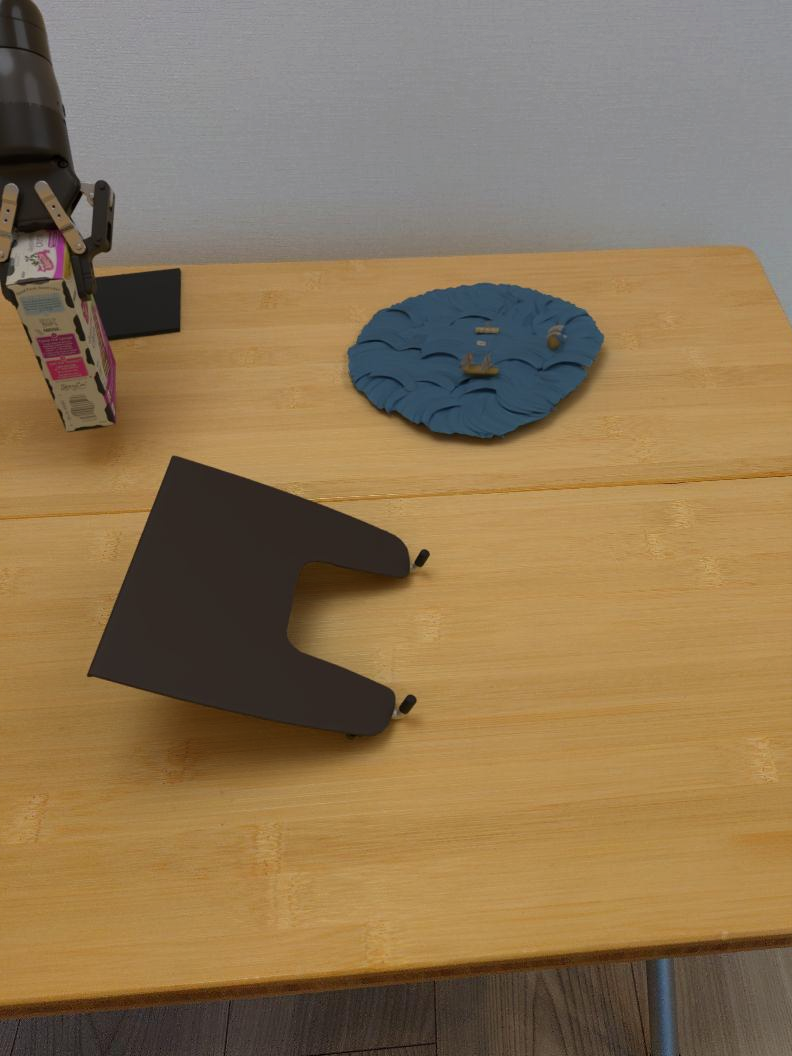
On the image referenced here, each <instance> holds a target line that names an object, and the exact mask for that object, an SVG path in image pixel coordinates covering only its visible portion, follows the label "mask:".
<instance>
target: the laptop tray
mask: <svg viewBox="0 0 792 1056" xmlns="http://www.w3.org/2000/svg"><path fill="white" fill-rule="evenodd" d="M165 470H166V471H165V473H164V475H163V478H162V481H161V484H160V486H159V489H158V491H157V494H156V496H155V498H154V500H153V501H154V502H153V504H152V506H151V509H150V511H149V514H148V516H147V519H146V522H145V524H144V527H143V529H142V532H141V535H140V537H139V540H138V541H137V544H136V547H135V550H134V552H133V555H132V557H131V560H130V562H129V564H128V568H127V570H126V573H125V576H124V578H123V581H122V583H121V586H120V588H119V591H118V593H117V596H116V599H115V602H114V604H113V606H112V608H111V611H110V614H109V617H108V618H107V619H108V620H107V621H106V624H105V627H104V630H103V632H102V634H101V637H100V640H99V643H98V645H97V647H96V650H95V652H94V655H93V658H92V661H91V663H90V665H89V669H88V671H87V674H86V677H87V678H96V679H100V680H104V681H108V682H111V683H115V684H118V685H121V686H126V687H129V688H132V689H136V690H139V691H143V692H148V693H151V694H154V695H159V696H163V697H166V698H170V699H174V700H178V701H182V702H185V703H190V704H193V705H198V706H202V707H205V708H211V709H215V710H220V711H224V712H226V713H227V712H228V713H233V714H236V715H241V716H245V717H248V718H249V717H250V718H255V719H259V720H263V721H267V722H273V723H277V724H283V725H288V726H293V727H300V728H304V729H311V730H317V731H321V732H322V731H323V732H328V733H335V734H343V735H345V737H346V739H347V740H348V741H353V740H355V739H357V738H365V737H374V736H378V735H380V734H381V733H383V732H384V731H385V730H386V729H387V727H388V726H389V725H390V722H391V720H402V719H403V718H405V717H407V715H408V714H410V712H411V711H412V709H413V708H414V706H415V705H416V703H418V699H417V697H416V696H415V695H414V694H411V693H409V694H406V696H405V698H404V699H403V700H402V702H401V703H400V705H399V706H398V708H395V707H396V701H397V699H396V698H397V697H396V693H395V692H394V690H393V689H391V688H390V687H388V686H386V685H384V684H382V683H380V682H378V681H376V680H373V679H371V678H369V677H367V676H364V675H361V674H360V673H358V672H355V671H353V670H350V669H348V668H346V667H344V666H341V665H338V664H335V663H333V662H330V661H327V660H325V659H322V658H319V657H316V656H313V655H311V654H308V653H306V652H303V651H301V650H299V648H296V647H295V646H294V645H293V644H292V642H291V641H290V639H289V636H288V630H289V629H288V628H289V623H290V622H289V621H290V617H291V611H292V607H293V603H294V602H293V601H294V598H295V593H296V589H297V585H298V580H299V576H300V572H301V570H302V569H303V567H304V566H306V565H308V564H312V563H318V564H325V565H328V566H333V567H336V568H341V569H345V570H349V571H354V572H357V573H358V572H359V573H364V574H369V575H376V576H382V577H387V578H393V579H406V578H407V577H408V576H409V575H410V574H415V573H418V572H419V571H420V570H421V569H422V568H423V567H424V566H425V564H426V562H427V561H428V559H429V558H430V556H431V553H430V551H429V550H428V549H426V548H422V549H421V550H419V553H418V555H417V556H416V558H415V560H414V562H413V563H411V558H410V552H409V549H408V546H407V545H406V544H405V542H403V540H402V539H401V538H400V537H398V536H397V535H395V534H393V533H391V532H389V531H387V530H385V529H382V528H380V527H378V526H375V525H373V524H371V523H368V522H366V521H364V520H362V519H359V518H357V517H355V516H352V515H350V514H347V513H344V512H342V511H339V510H337V509H334V508H332V507H329V506H326V505H324V504H321V503H320V502H319V503H318V502H316V501H313V500H311V499H308V498H305V497H302V496H300V495H297V494H294V493H290V492H288V491H285V490H283V489H279V488H277V487H274V486H271V485H268V484H265V483H262V482H259V481H257V480H253V479H251V478H248V477H245V476H241V475H238V474H235V473H232V472H229V471H225V470H222V469H220V468H217V467H213V466H210V465H207V464H204V463H200V462H198V461H195V460H191V459H188V458H185V457H182V456H178V455H172V456H171V457H170V461H169V463H168V465H167V467H166V469H165Z"/></svg>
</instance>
